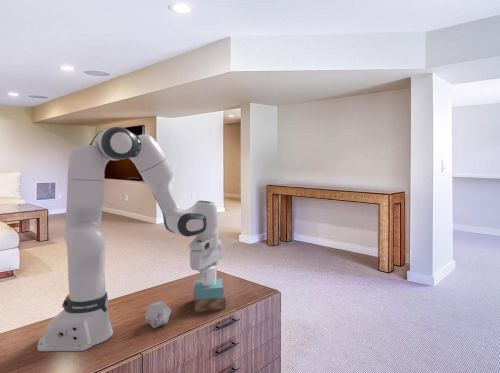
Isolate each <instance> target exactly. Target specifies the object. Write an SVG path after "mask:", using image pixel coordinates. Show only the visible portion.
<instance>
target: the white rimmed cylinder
mask: <svg viewBox="0 0 500 373" xmlns="http://www.w3.org/2000/svg"><path fill="white" fill-rule="evenodd" d="M217 267H218V266H216V265H212V264H210V265H208V266H206V267H205V270H204V272H205V273H206V277H205V278H204V279H203V278H201V277H200V280H201V282H202V285H203V286H213V285H215V284H216V279H217Z"/></svg>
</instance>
